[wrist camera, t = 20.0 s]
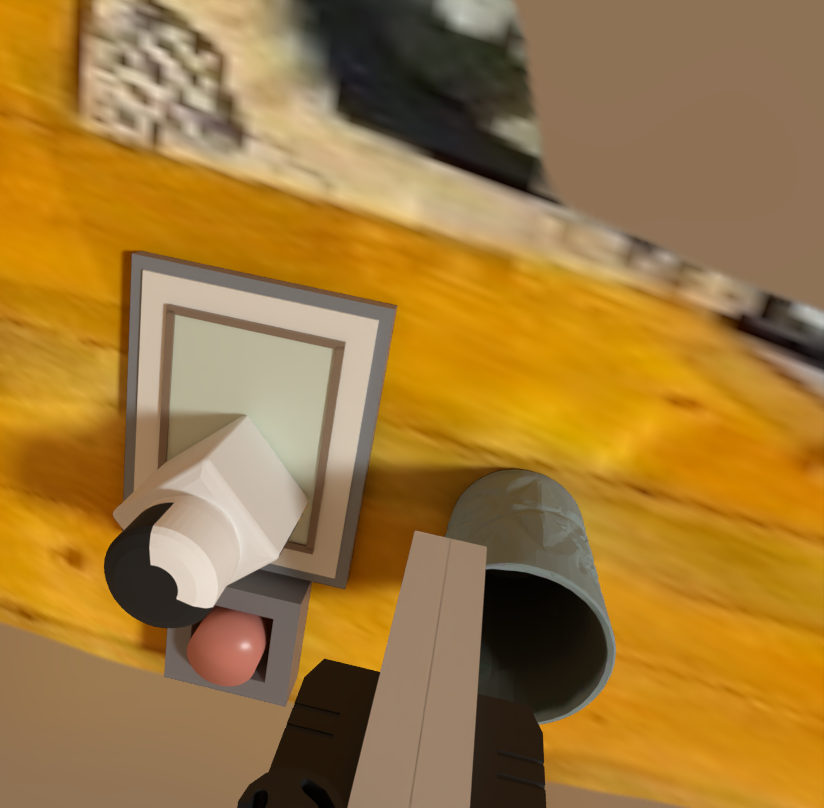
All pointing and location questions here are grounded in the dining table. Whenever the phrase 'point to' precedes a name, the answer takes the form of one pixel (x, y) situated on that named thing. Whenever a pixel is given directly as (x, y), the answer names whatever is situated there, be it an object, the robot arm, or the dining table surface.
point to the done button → (228, 645)
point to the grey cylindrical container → (536, 594)
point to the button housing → (289, 612)
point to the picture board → (260, 388)
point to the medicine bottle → (202, 526)
